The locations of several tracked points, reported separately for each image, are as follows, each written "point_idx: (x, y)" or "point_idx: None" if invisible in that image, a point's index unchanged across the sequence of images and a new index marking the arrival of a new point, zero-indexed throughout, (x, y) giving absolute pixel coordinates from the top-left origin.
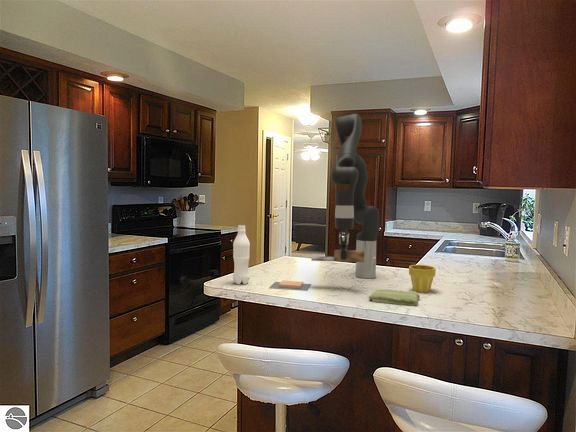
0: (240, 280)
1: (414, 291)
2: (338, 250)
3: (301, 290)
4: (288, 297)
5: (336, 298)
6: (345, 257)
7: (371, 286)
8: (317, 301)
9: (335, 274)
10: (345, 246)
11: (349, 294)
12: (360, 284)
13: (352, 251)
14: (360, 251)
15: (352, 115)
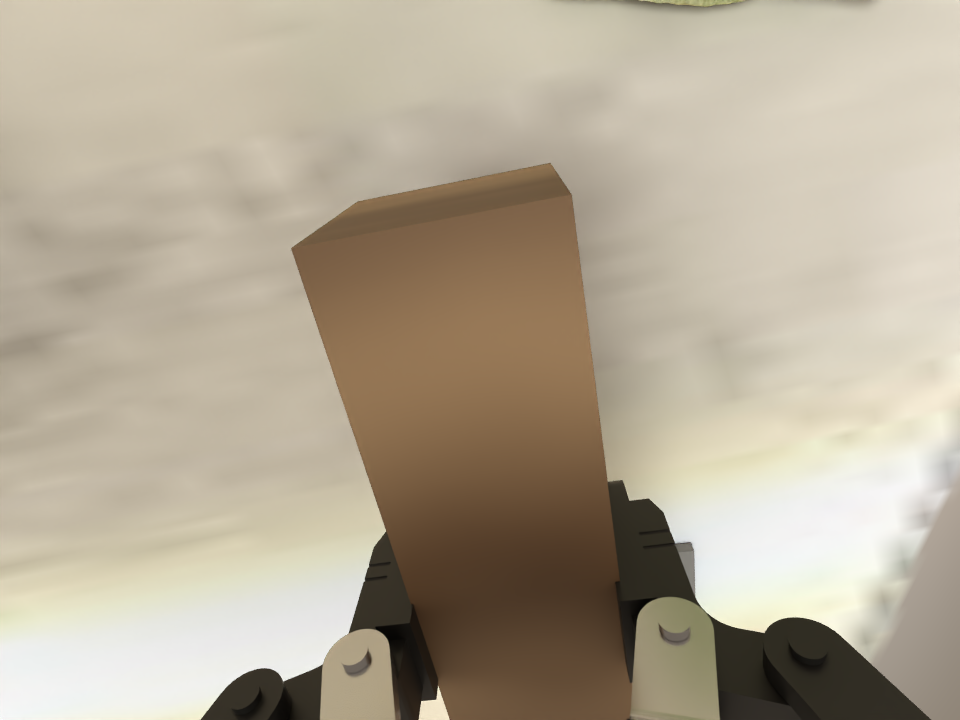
0: None
1: None
2: (523, 707)
3: (694, 584)
4: (862, 606)
5: (826, 317)
6: (628, 510)
7: (240, 99)
8: (947, 426)
9: (6, 499)
10: (906, 714)
11: (655, 244)
12: (223, 227)
13: (546, 486)
14: (471, 321)
15: None
